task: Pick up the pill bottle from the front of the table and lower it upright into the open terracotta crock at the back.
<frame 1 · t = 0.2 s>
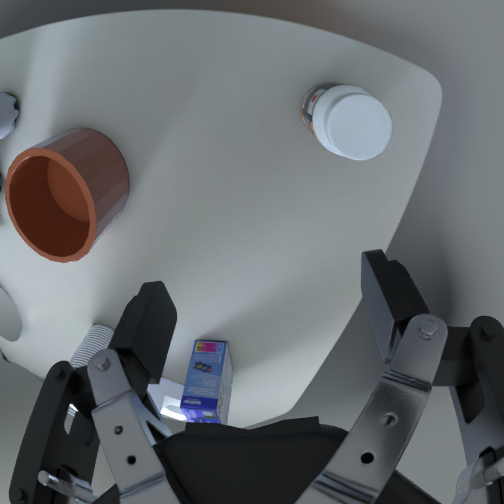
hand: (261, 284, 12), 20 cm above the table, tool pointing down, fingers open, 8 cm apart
pill bottle: (329, 110, 26), on the table
crock: (83, 179, 30), on the table
bottle: (8, 112, 24), on the table
cup: (106, 334, 46), on the table
ink cartridge box: (214, 357, 47), on the table
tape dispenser: (153, 384, 54), on the table
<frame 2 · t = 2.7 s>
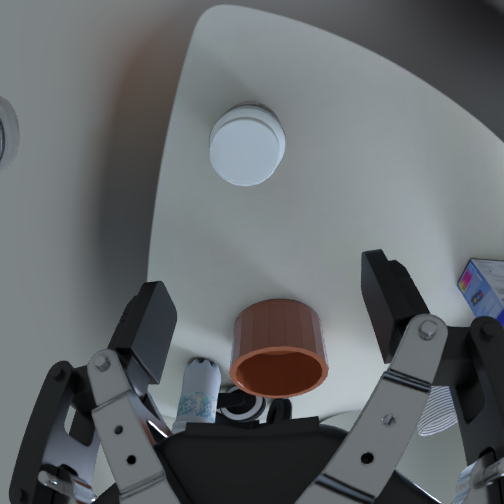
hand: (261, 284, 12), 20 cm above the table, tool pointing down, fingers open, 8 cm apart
pill bottle: (250, 128, 27), on the table
crock: (277, 330, 42), on the table
headphones: (243, 401, 56), on the table
bottle: (204, 365, 48), on the table
cup: (418, 353, 46), on the table
ink cartridge box: (481, 273, 36), on the table
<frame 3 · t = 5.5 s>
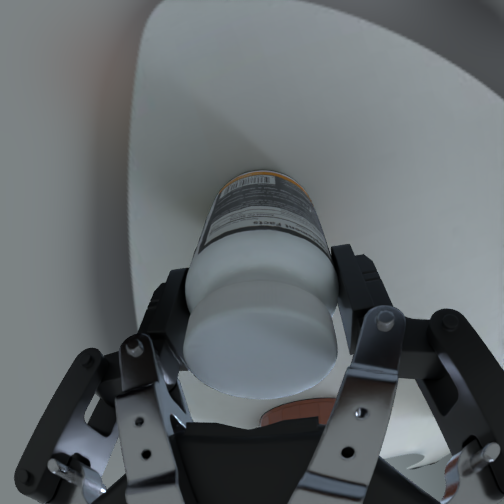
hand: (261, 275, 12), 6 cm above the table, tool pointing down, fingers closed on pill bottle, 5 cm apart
pill bottle: (262, 212, 17), on the table, touching gripper
crock: (311, 420, 32), on the table
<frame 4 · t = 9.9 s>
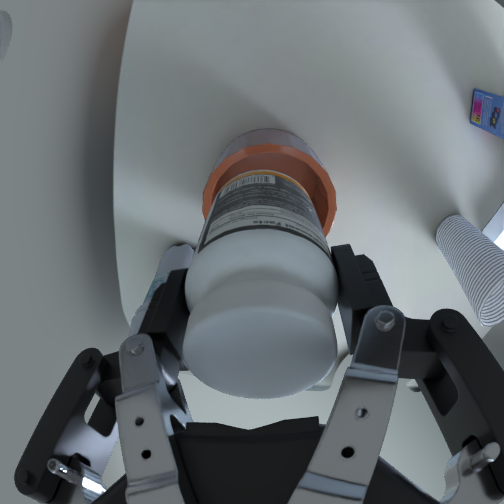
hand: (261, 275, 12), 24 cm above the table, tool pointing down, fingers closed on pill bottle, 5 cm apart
pill bottle: (262, 212, 17), point 18 cm above the table, touching gripper
crock: (268, 180, 34), on the table
bottle: (186, 257, 41), on the table
cup: (450, 231, 37), on the table
ink cartridge box: (493, 113, 26), on the table
when the fingers open (6 cm above the table, at t = 14.6 s): pill bottle stays where it is, resting on crock.
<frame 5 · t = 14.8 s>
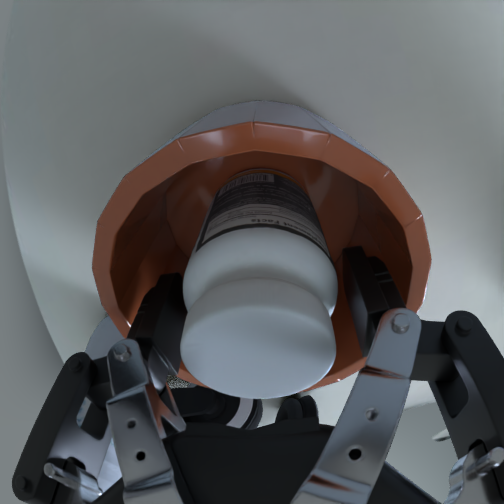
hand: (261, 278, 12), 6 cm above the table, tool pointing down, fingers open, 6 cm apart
pill bottle: (261, 211, 17), resting on crock
crock: (262, 210, 17), on the table
headphones: (229, 405, 31), on the table
bottle: (133, 330, 24), on the table
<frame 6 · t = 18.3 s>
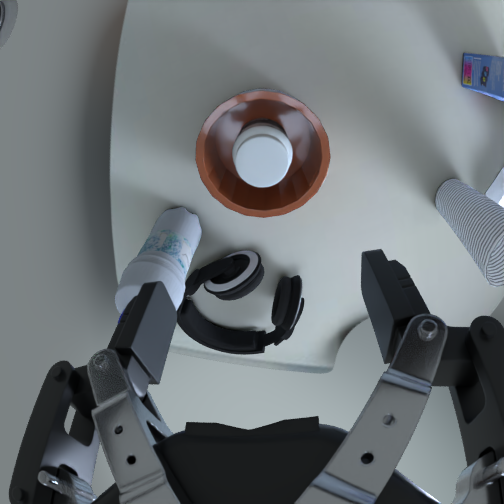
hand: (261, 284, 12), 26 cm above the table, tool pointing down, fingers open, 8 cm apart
pill bottle: (262, 139, 33), resting on crock
crock: (262, 139, 33), on the table
headphones: (240, 294, 47), on the table
bottle: (182, 223, 40), on the table
cup: (449, 196, 36), on the table
ink cartridge box: (484, 78, 25), on the table
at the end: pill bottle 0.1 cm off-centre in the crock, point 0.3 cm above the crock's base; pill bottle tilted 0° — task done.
